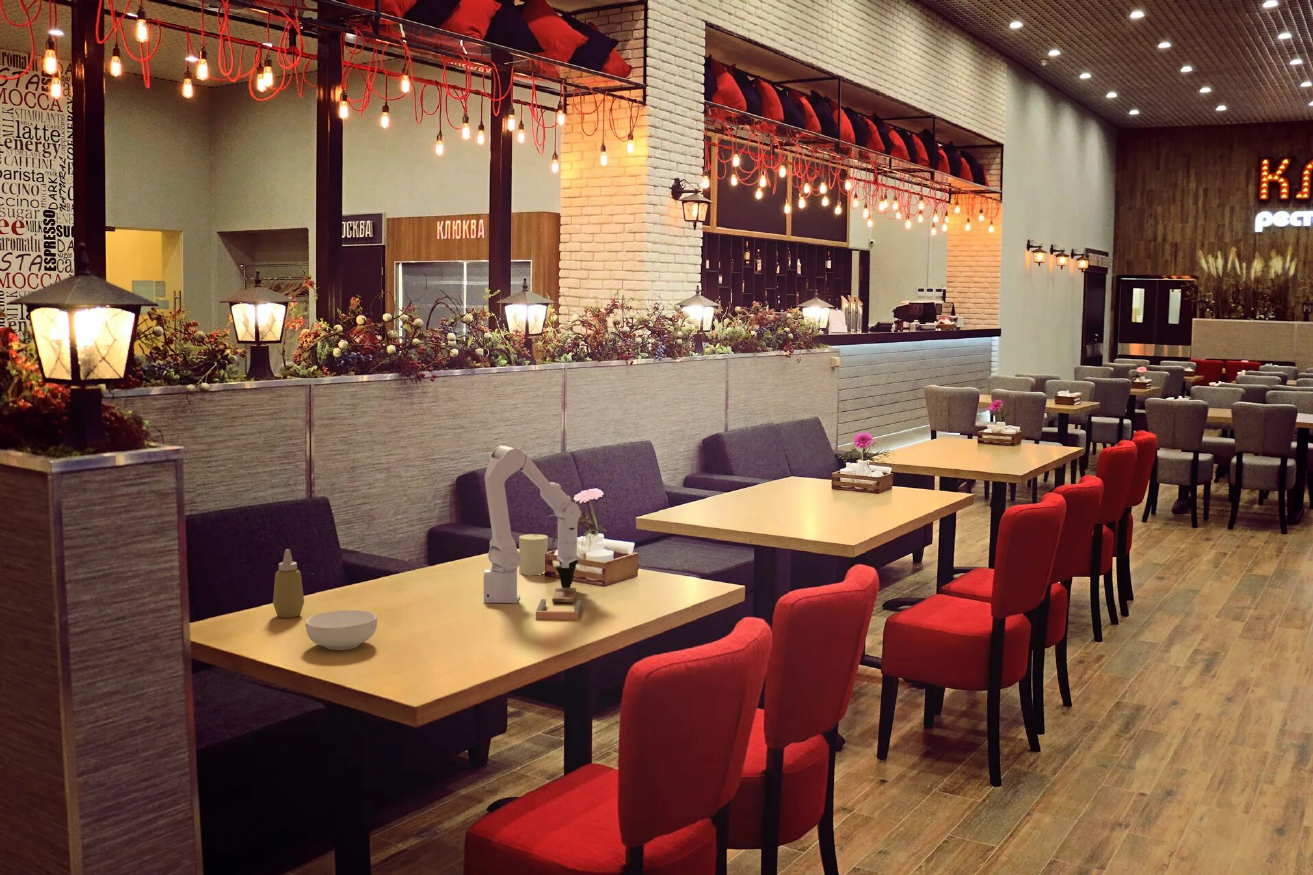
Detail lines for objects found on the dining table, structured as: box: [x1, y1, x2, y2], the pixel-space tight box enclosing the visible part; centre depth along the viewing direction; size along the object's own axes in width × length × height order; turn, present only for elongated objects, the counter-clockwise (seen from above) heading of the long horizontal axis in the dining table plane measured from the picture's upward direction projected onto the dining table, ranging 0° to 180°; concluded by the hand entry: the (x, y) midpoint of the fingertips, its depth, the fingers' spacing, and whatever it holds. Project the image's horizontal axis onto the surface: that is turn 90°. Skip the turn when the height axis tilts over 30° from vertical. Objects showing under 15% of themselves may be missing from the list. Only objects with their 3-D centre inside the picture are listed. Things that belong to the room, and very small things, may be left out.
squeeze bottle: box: [272, 548, 305, 619], centre depth 311 cm, size 8×8×18 cm
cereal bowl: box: [305, 609, 378, 651], centre depth 285 cm, size 17×17×7 cm
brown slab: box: [551, 586, 577, 604], centre depth 334 cm, size 6×10×2 cm, turn 179°
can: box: [518, 533, 549, 576], centre depth 368 cm, size 9×9×12 cm
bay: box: [535, 598, 583, 621], centre depth 319 cm, size 11×14×2 cm
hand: (567, 586), depth 343 cm, fingers open, 7 cm apart
